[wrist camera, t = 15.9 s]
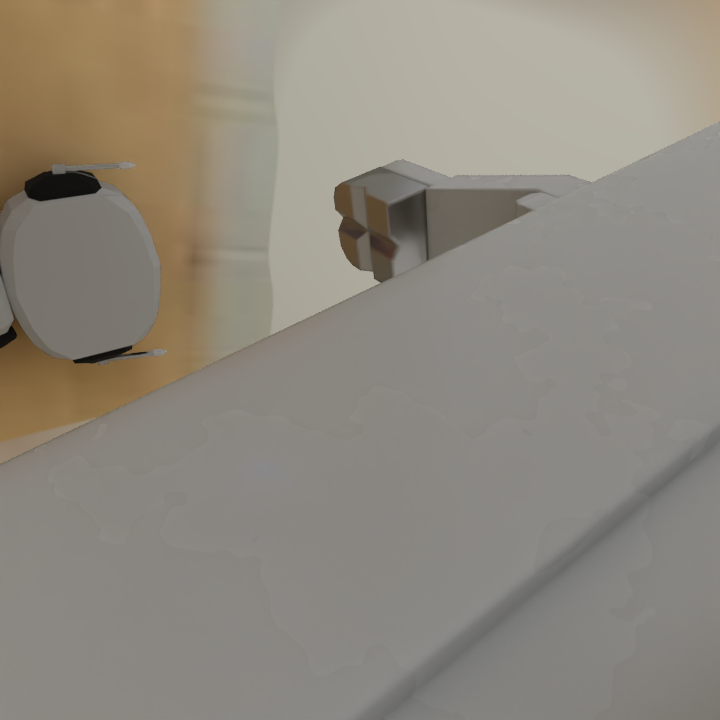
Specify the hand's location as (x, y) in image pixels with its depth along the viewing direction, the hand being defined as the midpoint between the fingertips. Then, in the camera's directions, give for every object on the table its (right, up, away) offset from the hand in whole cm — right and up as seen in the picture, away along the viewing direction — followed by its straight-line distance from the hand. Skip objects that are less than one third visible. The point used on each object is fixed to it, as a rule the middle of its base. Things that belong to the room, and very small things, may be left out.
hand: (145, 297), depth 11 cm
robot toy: (-17, +4, +26) cm, 31 cm away
